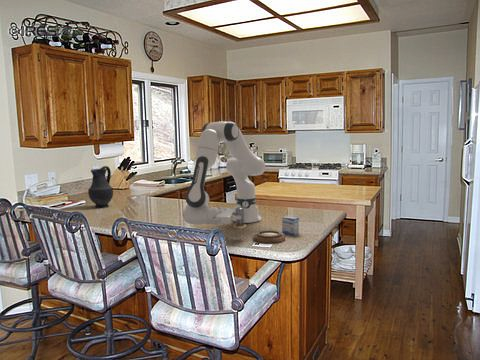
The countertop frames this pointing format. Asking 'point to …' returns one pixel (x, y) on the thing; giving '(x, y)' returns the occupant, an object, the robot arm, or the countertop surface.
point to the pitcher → (101, 187)
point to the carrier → (269, 236)
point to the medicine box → (290, 225)
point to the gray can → (240, 222)
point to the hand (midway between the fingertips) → (241, 215)
